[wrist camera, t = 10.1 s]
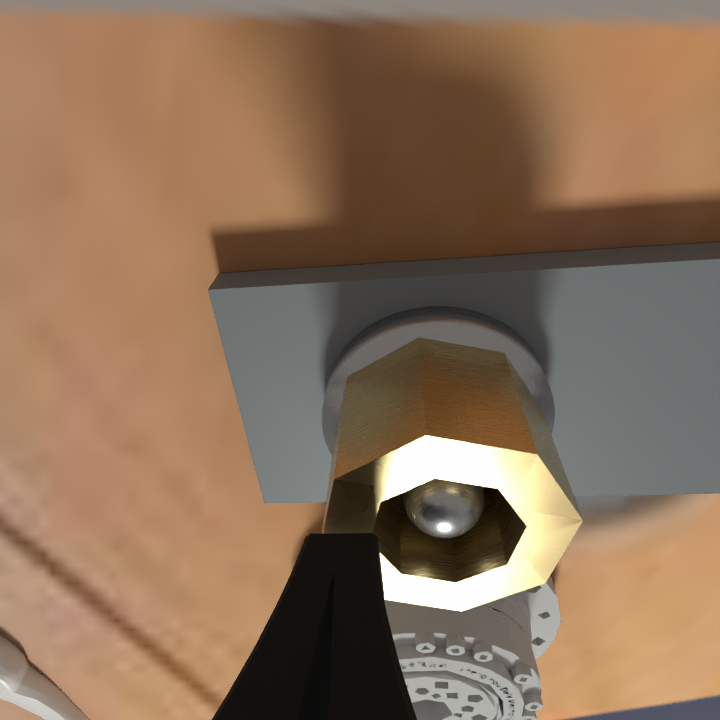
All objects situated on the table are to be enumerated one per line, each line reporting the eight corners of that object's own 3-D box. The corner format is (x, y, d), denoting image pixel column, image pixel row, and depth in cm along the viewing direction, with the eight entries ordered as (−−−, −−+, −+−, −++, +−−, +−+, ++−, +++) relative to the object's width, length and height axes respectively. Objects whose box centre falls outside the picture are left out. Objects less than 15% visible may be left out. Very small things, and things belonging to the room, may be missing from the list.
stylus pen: (-106, 587, 23) (-141, 630, 22) (-58, 576, 23) (-89, 620, 21) (98, 730, 31) (84, 769, 30) (138, 725, 31) (125, 765, 29)
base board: (1065, 220, 12) (1113, 235, 12) (913, 464, 16) (941, 488, 16) (218, 273, 14) (207, 289, 13) (270, 481, 18) (264, 503, 17)
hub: (557, 299, 13) (619, 409, 9) (535, 478, 16) (576, 612, 13) (311, 312, 14) (282, 421, 10) (338, 483, 17) (322, 612, 13)
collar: (474, 306, 12) (500, 399, 9) (566, 447, 14) (611, 561, 11) (300, 402, 14) (275, 506, 11) (405, 516, 16) (408, 629, 13)
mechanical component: (593, 528, 19) (315, 483, 19) (641, 653, 15) (295, 600, 15) (504, 672, 25) (287, 640, 24) (523, 790, 21) (267, 754, 20)
